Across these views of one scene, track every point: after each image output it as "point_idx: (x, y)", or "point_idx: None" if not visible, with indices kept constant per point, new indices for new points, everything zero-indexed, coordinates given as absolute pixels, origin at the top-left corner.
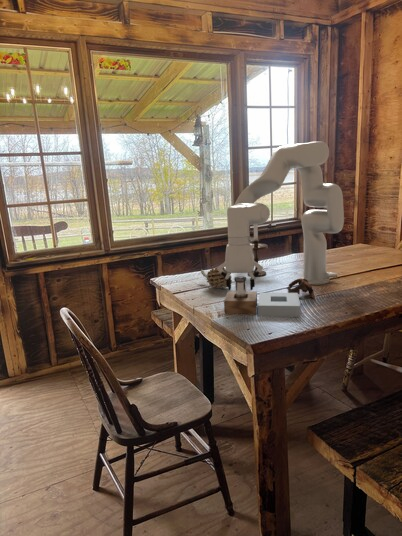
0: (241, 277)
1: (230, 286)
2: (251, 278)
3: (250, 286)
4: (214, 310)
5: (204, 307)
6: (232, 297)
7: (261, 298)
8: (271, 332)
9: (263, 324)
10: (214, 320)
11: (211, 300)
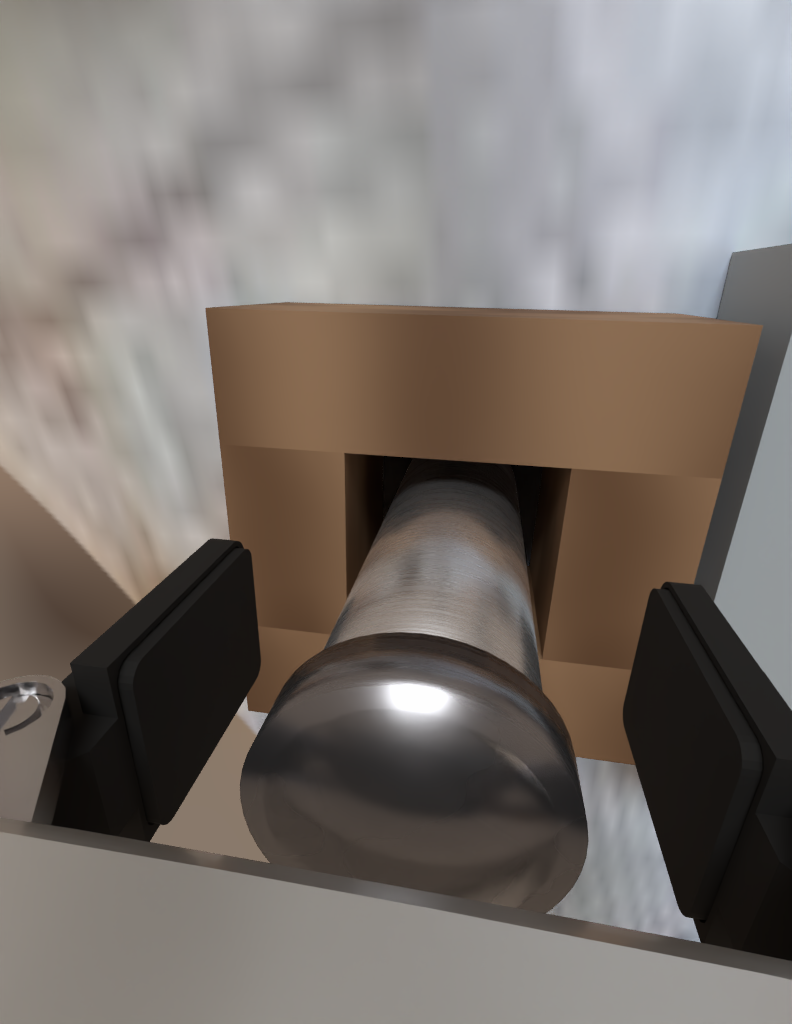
0: (441, 815)
1: (237, 660)
2: (748, 929)
3: (642, 773)
4: (184, 512)
5: (58, 422)
6: (330, 603)
7: (769, 557)
8: (681, 938)
9: (647, 831)
10: (246, 722)
11: (40, 153)
